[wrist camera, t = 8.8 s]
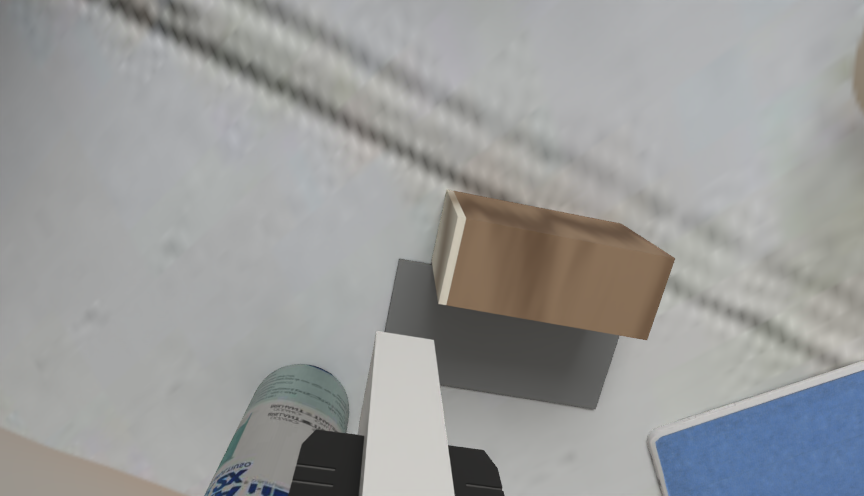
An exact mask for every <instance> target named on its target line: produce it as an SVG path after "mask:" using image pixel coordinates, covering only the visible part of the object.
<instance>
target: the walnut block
mask: <svg viewBox="0 0 864 496" xmlns="http://www.w3.org/2000/svg"><path fill="white" fill-rule="evenodd" d="M674 260H675V258H674V257H672V256H671V255H669V254H668V253H666V252H664V251H663V250H661V249H660V248H658V247H657V246H655V245H654V244H652V243H650V242H649V241H647V240H646V239H644V238H643V237H641V236H640V235H638V234H636V233H635V232H633V231H632V230H630V229H629V228H627V227H626V226H624V225H622V224H620V223H615V222H610V221H604V220H599V219H594V218H589V217H584V216H579V215H574V214H569V213H564V212H559V211H554V210H549V209H543V208H538V207H533V206H528V205H523V204H518V203H513V202H508V201H503V200H498V199H493V198H487V197H482V196H477V195H472V194H467V193H462V192H457V191H452V190H447V191H446V196H445V200H444V205H443V210H442V214H441V219H440V223H439V228H438V233H437V237H436V242H435V247H434V251H433V256H432V267H433V273H434V279H435V286H436V292H437V298H438V304H442V305H448V306H453V307H459V308H465V309H471V310H476V311H482V312H488V313H494V314H499V315H505V316H511V317H517V318H522V319H528V320H534V321H540V322H545V323H551V324H557V325H563V326H568V327H574V328H580V329H586V330H591V331H597V332H603V333H609V334H614V335H620V336H626V337H632V338H637V339H643V340H647V339H648V336H649V333H650V330H651V327H652V324H653V321H654V318H655V315H656V313H657V310H658V307H659V304H660V301H661V298H662V295H663V292H664V289H665V286H666V283H667V281H668V278H669V275H670V272H671V269H672V266H673V263H674Z"/></svg>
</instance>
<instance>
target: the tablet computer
mask: <svg viewBox="0 0 864 496" xmlns="http://www.w3.org/2000/svg"><path fill="white" fill-rule="evenodd" d="M647 445H648V448H649V451H650V455H651V457H652V459H653V465H654V469H655V472H656V476H657V478H658V481H659V485H660V489H661V492H662V496H864V360H863V361H860V362H857V363H854V364H851V365H848V366H845V367H842V368H839V369H836V370H833V371H830V372H827V373H824V374H821V375H818V376H815V377H812V378H809V379H806V380H803V381H800V382H796V383H793V384H790V385H787V386H784V387H781V388H778V389H775V390H772V391H769V392H766V393H763V394H760V395H757V396H754V397H751V398H747V399H744V400H741V401H738V402H735V403H732V404H728V405H725V406H722V407H720V408H717V409H713V410H710V411H706V412H704V413H701V414H697V415H695V416H691V417H687V418H684V419H681V420H678V421H675V422H672V423H669V424H666V425H663V426H660V427H657V428H655V429H653V430H652V431H650V432H649V434H648V436H647Z"/></svg>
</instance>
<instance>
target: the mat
mask: <svg viewBox="0 0 864 496" xmlns="http://www.w3.org/2000/svg"><path fill="white" fill-rule="evenodd" d="M385 332H387V333H393V334H399V335H406V336H412V337H418V338H425V339H431V340H434V345H435V353H436V360H437V368H438V375H439V383H440V385H444V386H450V387H457V388H463V389H469V390H476V391H482V392H488V393H495V394H501V395H507V396H514V397H520V398H526V399H533V400H539V401H545V402H552V403H558V404H564V405H571V406H577V407H583V408H590V409H596V406H597V403H598V400H599V397H600V394H601V390H602V387H603V384H604V381H605V378H606V375H607V372H608V369H609V366H610V363H611V360H612V357H613V354H614V351H615V348H616V345H617V342H618V338H619V335H614V334H609V333H603V332H597V331H591V330H586V329H580V328H574V327H568V326H563V325H557V324H551V323H545V322H540V321H534V320H528V319H522V318H517V317H511V316H505V315H499V314H494V313H488V312H482V311H476V310H471V309H465V308H459V307H453V306H448V305H442V304H438V298H437V292H436V286H435V279H434V273H433V267H432V264H426V263H421V262H415V261H409V260H404V259H399V263H398V268H397V273H396V278H395V283H394V288H393V293H392V298H391V303H390V308H389V313H388V318H387V323H386V328H385Z"/></svg>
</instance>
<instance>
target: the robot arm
mask: <svg viewBox="0 0 864 496" xmlns="http://www.w3.org/2000/svg"><path fill="white" fill-rule="evenodd" d="M288 496H504V492H503V491H502V484H501V480H500V476H499V472H498V468H497V467H496V466H495V464H494V463H493V462H492V460H491V459H490V458H489V456H488V455H487V454H486V453H485V451H484V450H478V449H471V448H464V447H456V446H449V445H448V442H447V435H446V427H445V420H444V412H443V405H442V398H441V390H440V383H439V375H438V368H437V360H436V353H435V345H434V340H431V339H425V338H418V337H412V336H406V335H399V334H393V333H387V332H380V331H376V337H375V342H374V347H373V352H372V358H371V363H370V368H369V373H368V379H367V384H366V389H365V395H364V400H363V405H362V410H361V416H360V421H359V429H358V435H355V434H347V433H340V432H333V431H325V430H318V429H316V430H315V431H314V432H313V433H312V434H311V435H310V436H309V437H308V438H307V439H306V440H305V441H304V442H303V443H302V445H301V448H300V452H299V456H298V460H297V464H296V467H295V471H294V475H293V479H292V483H291V486H290V490H289V494H288Z"/></svg>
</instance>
